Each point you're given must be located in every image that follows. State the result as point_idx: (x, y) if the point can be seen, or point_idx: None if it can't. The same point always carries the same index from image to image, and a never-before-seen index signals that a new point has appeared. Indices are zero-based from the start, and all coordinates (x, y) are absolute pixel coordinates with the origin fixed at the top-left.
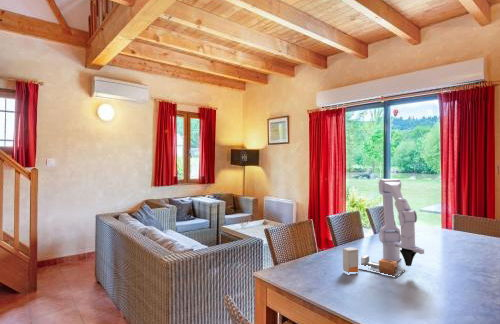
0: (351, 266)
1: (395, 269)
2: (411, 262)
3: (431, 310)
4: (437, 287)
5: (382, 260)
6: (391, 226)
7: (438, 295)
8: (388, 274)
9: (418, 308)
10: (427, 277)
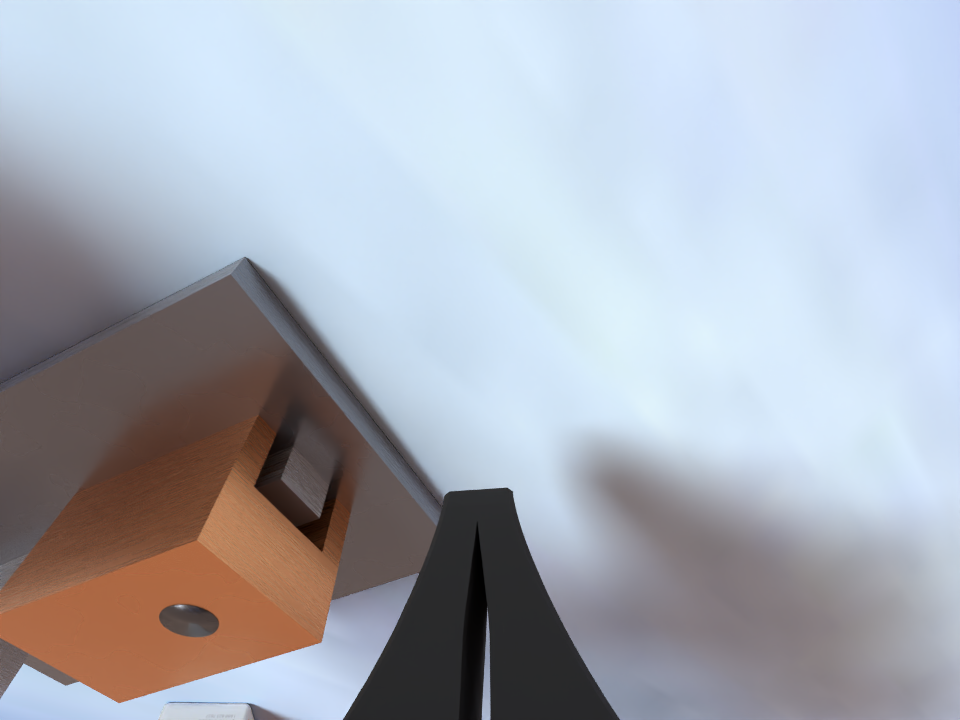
0: None
1: (318, 512)
2: (522, 548)
3: None
4: (955, 340)
5: (116, 672)
6: None
7: None
8: (378, 582)
9: (943, 709)
10: (657, 129)
